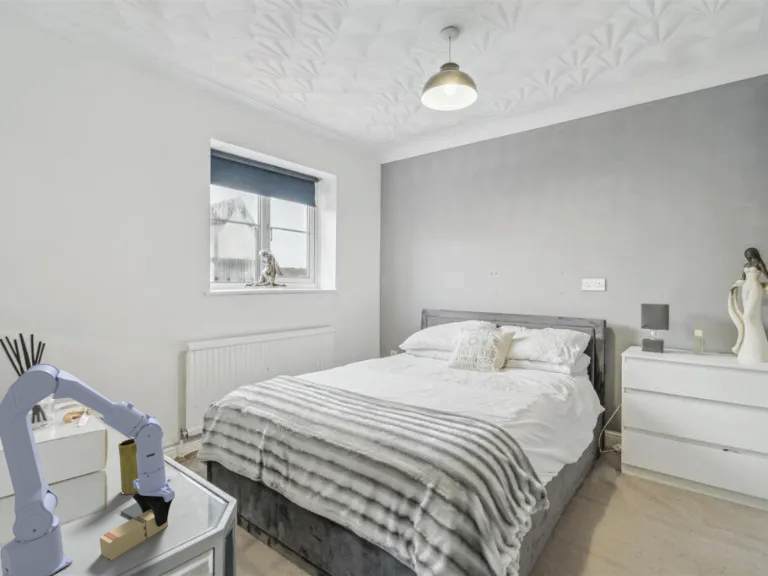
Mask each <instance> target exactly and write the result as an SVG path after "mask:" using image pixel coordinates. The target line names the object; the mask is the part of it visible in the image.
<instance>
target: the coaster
mask: <svg viewBox="0 0 768 576" xmlns="http://www.w3.org/2000/svg"><path fill="white" fill-rule="evenodd" d="M120 513H121V514H122V515H124V516H126V517H128V518H130V520H132V519H133V518H136V517H137V516H139V515H141V514H143V513H142V510H141V508H140V506H139V504H138V503H137V502H135V503H133V504H132V505H129V506H128V507H126V508H124V509H121V511H120Z"/></svg>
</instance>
